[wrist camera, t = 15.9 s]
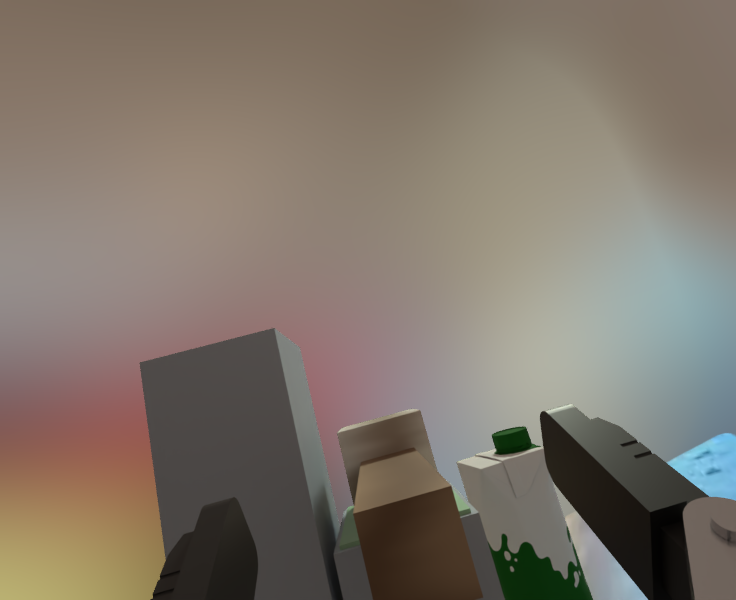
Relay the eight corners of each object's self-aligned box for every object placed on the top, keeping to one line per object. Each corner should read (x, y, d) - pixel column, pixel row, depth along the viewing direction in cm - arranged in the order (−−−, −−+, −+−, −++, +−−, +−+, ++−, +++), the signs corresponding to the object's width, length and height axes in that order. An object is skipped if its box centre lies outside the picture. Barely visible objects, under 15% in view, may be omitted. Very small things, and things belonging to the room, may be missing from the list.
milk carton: (620, 637, 40) (547, 426, 45) (537, 673, 38) (469, 450, 43) (566, 599, 49) (509, 425, 53) (496, 628, 47) (443, 444, 51)
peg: (347, 638, 12) (309, 458, 13) (360, 503, 27) (342, 427, 28) (513, 588, 12) (461, 416, 13) (432, 482, 27) (411, 408, 28)
